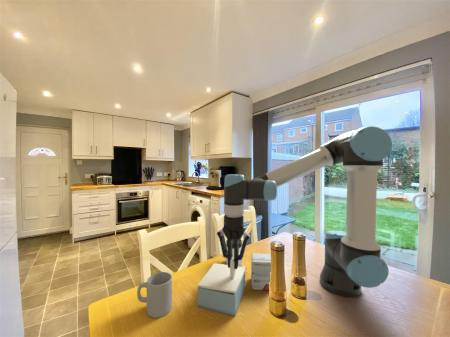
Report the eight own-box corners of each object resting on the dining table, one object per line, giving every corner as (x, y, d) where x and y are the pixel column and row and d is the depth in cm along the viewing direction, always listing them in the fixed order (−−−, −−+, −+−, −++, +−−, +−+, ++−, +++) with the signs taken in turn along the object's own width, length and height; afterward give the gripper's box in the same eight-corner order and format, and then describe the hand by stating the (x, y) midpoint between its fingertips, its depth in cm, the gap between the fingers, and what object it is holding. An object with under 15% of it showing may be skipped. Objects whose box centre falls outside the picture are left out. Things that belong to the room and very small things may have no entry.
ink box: (270, 279, 87) (270, 253, 87) (272, 291, 79) (273, 262, 79) (250, 277, 88) (251, 252, 88) (251, 289, 80) (251, 261, 79)
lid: (245, 268, 81) (245, 267, 81) (235, 293, 65) (235, 291, 65) (214, 264, 85) (214, 263, 85) (197, 286, 70) (197, 285, 70)
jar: (233, 269, 95) (233, 245, 95) (222, 263, 101) (222, 240, 100) (245, 263, 101) (245, 240, 101) (234, 257, 107) (234, 236, 107)
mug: (174, 300, 73) (174, 271, 73) (168, 317, 65) (169, 285, 64) (141, 301, 72) (141, 272, 72) (132, 319, 64) (132, 286, 64)
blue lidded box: (245, 288, 81) (245, 271, 81) (235, 316, 65) (235, 295, 65) (214, 281, 85) (214, 265, 85) (197, 306, 70) (197, 287, 70)
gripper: (252, 214, 75) (251, 274, 75) (220, 211, 79) (220, 268, 80) (248, 219, 68) (247, 285, 68) (214, 215, 72) (213, 278, 72)
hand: (232, 276), depth 74 cm, fingers closed
